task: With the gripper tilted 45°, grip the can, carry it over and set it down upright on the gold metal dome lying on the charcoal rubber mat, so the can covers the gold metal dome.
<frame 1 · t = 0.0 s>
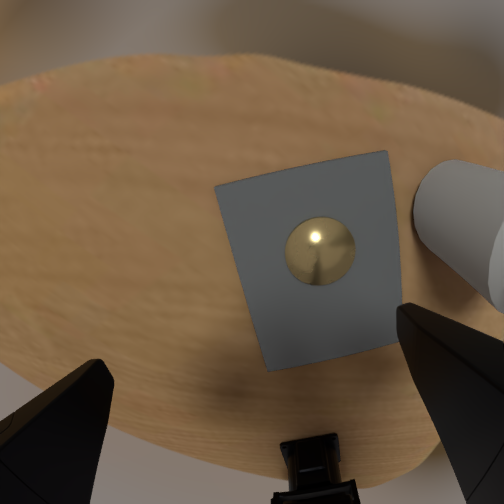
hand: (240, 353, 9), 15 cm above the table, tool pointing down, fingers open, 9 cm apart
gold metal dome: (320, 250, 23), resting on mat
can: (447, 205, 22), on the table
mat: (323, 272, 24), on the table
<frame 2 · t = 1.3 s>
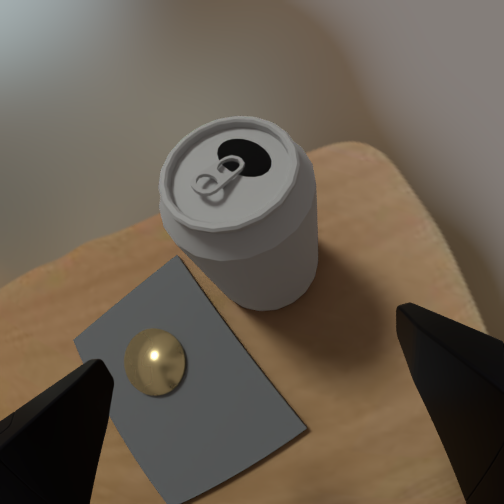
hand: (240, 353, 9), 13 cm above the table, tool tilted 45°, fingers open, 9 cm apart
gold metal dome: (155, 362, 22), resting on mat
can: (267, 264, 24), on the table
mat: (172, 384, 22), on the table
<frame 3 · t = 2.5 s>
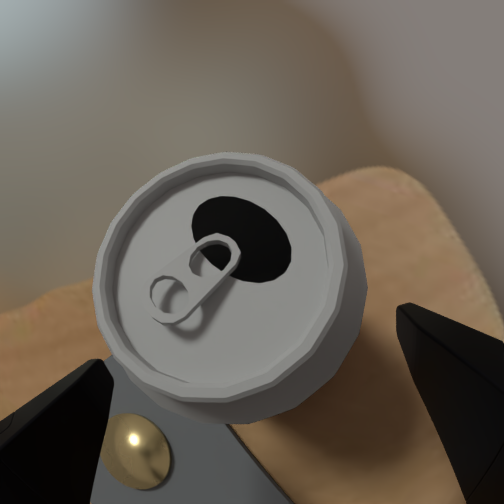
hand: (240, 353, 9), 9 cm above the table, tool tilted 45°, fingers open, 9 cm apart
gold metal dome: (134, 451, 16), resting on mat
can: (273, 338, 18), on the table
mat: (157, 476, 15), on the table
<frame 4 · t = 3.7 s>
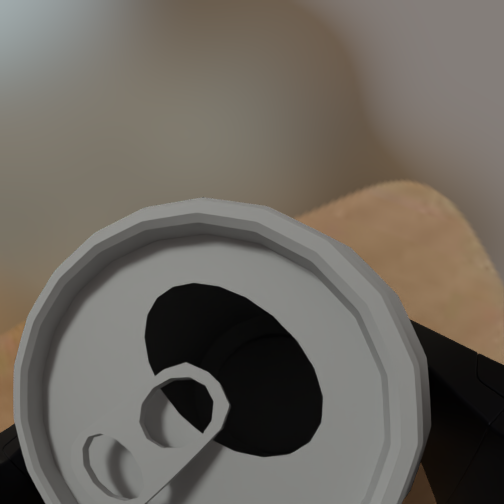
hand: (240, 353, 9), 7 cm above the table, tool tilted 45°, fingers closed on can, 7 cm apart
can: (277, 394, 14), on the table, touching gripper
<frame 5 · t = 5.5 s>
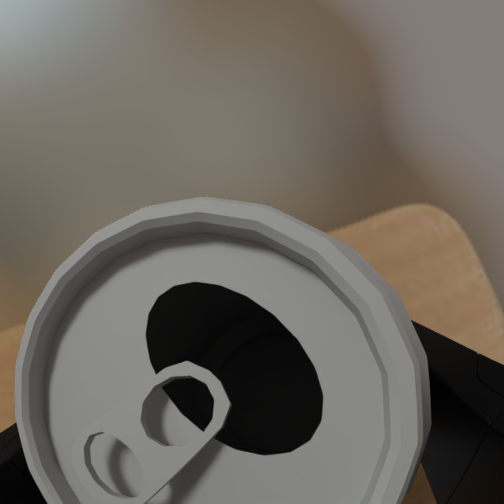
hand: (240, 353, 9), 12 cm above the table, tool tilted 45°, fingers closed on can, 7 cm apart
can: (278, 392, 14), point 5 cm above the table, touching gripper
when the fingers open (8 cm above the table, at t = 7.5 s): can stays where it is, resting on gold metal dome.
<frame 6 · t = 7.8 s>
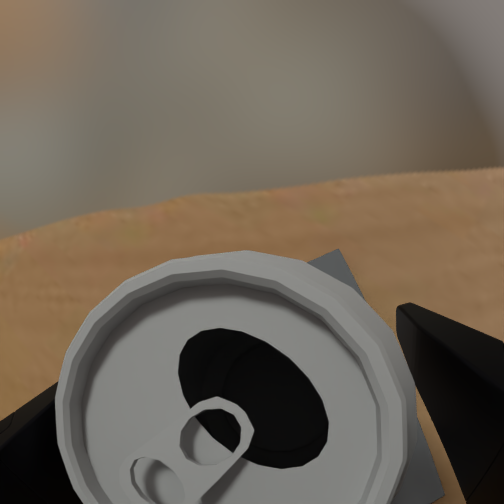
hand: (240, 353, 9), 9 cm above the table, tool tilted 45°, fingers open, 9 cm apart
can: (280, 396, 15), point 1 cm above the table, touching gold metal dome
mat: (295, 425, 15), on the table
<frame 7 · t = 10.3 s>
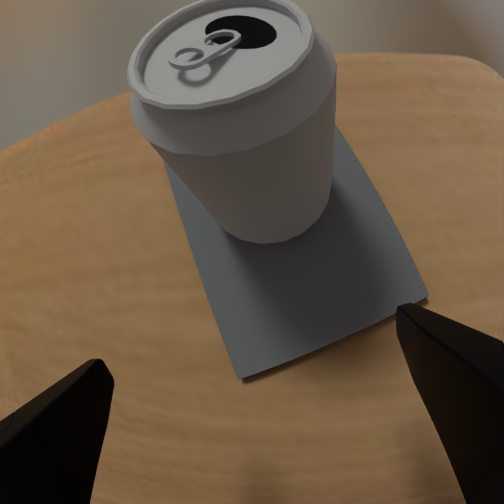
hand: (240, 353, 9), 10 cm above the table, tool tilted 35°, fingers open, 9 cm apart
can: (269, 190, 20), point 1 cm above the table, touching gold metal dome
mat: (283, 219, 20), on the table
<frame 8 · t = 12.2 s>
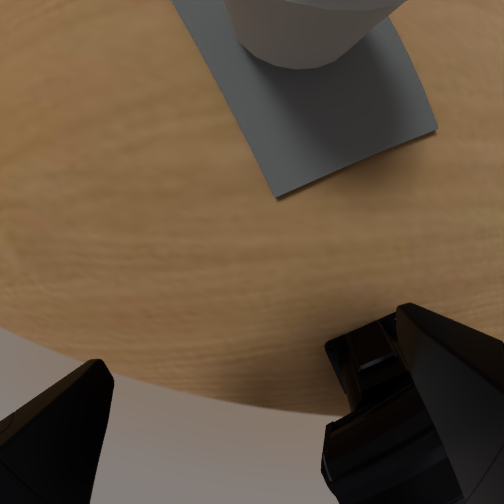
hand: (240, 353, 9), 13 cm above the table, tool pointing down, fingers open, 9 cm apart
can: (293, 17, 15), point 1 cm above the table, touching gold metal dome
mat: (306, 44, 17), on the table
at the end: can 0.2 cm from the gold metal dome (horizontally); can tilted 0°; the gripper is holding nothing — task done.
